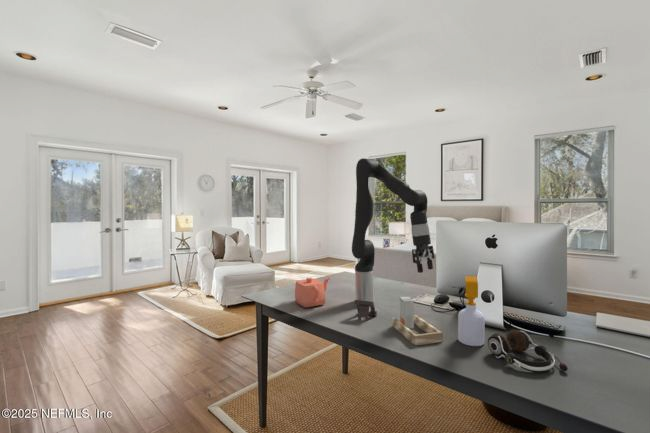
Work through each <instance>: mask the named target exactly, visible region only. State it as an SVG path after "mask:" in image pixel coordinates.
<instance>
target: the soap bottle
mask: <svg viewBox="0 0 650 433" xmlns="http://www.w3.org/2000/svg"><path fill="white" fill-rule="evenodd" d="M464 280H465V293H464V296H465V298H466V299H467V300H468V301H466V303H465V304H466V305H465V306H466V307H465V308H463V309H461V310H460V311H459V312H458V314H457V318H458V319H457V337H458V338H457V339H458V341H459V342H460V343H461V344H463V345H466V346H470V347H481V346H483V345H484V344H485V339H486V338H485V331H486V330H485V328H486V327H485V325H486V323H485V320H486V319H485V316H484V314H483V313H482V312H481V311H480V310H478V309H477V304H476V302H475V301H474V300H476V299H478V297H479V281H478V278H477V276H475V275H474V276H470V275H469V276H468V275H466V276H465V277H464Z"/></svg>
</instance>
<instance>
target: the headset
mask: <svg viewBox="0 0 650 433" xmlns="http://www.w3.org/2000/svg"><path fill="white" fill-rule="evenodd" d="M530 345H533V346H534V347H532V346H531V347H530ZM487 346H488V349H489V351H490V352H491V353H492V354H493V356H495V358H496V359H500V358H504V361H505V363H507V364H509V365H514V366H516V367H518V368H520V369H522V370H525V371H529V372H531V373H537V374H541V373H546V372H549V371H550V370H551V369H552V368H553V367H554V366H555V361H556V360H557V361H558V362H559V365H558V367H559V369H560V370H561V371H562V372H567V371H568V369H569V368H568V366H567V365H566V364H565V363H563V362H561V360H560V359H559V358H558V357H557V356H556V355H555V354H554V353H552V352H550V351H549V350H548V349H547V348H546V346H544V345H542V344H540V345H538V344H536V343H534V342H533V340H532V338H531V337H530V336H529V334H528V333H526V332H525V331H523V330H520V329H519V330H517V329H511V330H509V331H508V332H507V334H506V337H505V336H504V335H502V334H499V333H493V334H492V335H491V336H489V337H488V339H487ZM511 349H512V350H513V351H515V352H517V353H523V352H527V351H530V350H531V349H533V350H534V353H535V354H536V355H537V356H539V357H542V358H543V359H544V361H533V360H528V359H527V360H526V359H523V358H521V357H518V356H516V354H514V353H513V352H510V351H511ZM555 359H556V360H555Z"/></svg>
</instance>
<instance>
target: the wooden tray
mask: <svg viewBox="0 0 650 433" xmlns="http://www.w3.org/2000/svg"><path fill="white" fill-rule="evenodd" d="M391 321H392V328H394V329H395V330H396V331H398V332H399V333H400V334H401V335H402V336H404V337H405V338H406V339H407V340H408V341H409V342H411V343H412V344H413V345H414V346H421V345H429V344H435V343H443V341H444V340H443V336H444V335H443V334H444V333H443V332H442V330H439V329H438V328H436V327H435V326H433V325H432V324H430V323H429V322H427V321H426V320H424V319H423V318H421V317H420V316H419V315H417V314H414V325H416V326H417V327H418V328H419V329H421V330H422V331H423V332H425V333H418V334H416V333H415V331H413V330H412V329H409V328H408V327H406V326H405V325H404V324H402V323H401V322H400V319H399V320H398V319H397V318H396V317H392V320H391Z"/></svg>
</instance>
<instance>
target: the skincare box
mask: <svg viewBox="0 0 650 433" xmlns="http://www.w3.org/2000/svg"><path fill="white" fill-rule="evenodd" d="M414 306H415V305H414V300H413V299H412V298H411V297H410V296H400V297H399V321H400V322H401V323H402V324H404V325H405V326H406V327H408V328H409V329H410V330H414V329H415V324H414V315H415V310H414V309H415V308H414Z"/></svg>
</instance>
